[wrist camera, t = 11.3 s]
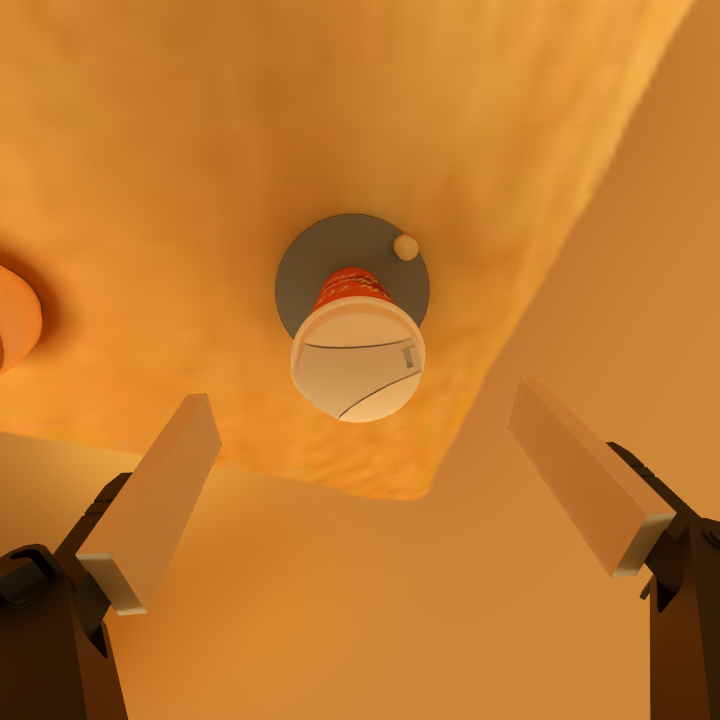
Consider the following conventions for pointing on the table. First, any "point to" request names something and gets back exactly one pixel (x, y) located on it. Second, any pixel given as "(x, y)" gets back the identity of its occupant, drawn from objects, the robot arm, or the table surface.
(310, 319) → the paper cup
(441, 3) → the table surface
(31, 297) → the lidded jar
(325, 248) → the pad
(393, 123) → the table surface
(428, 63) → the table surface
